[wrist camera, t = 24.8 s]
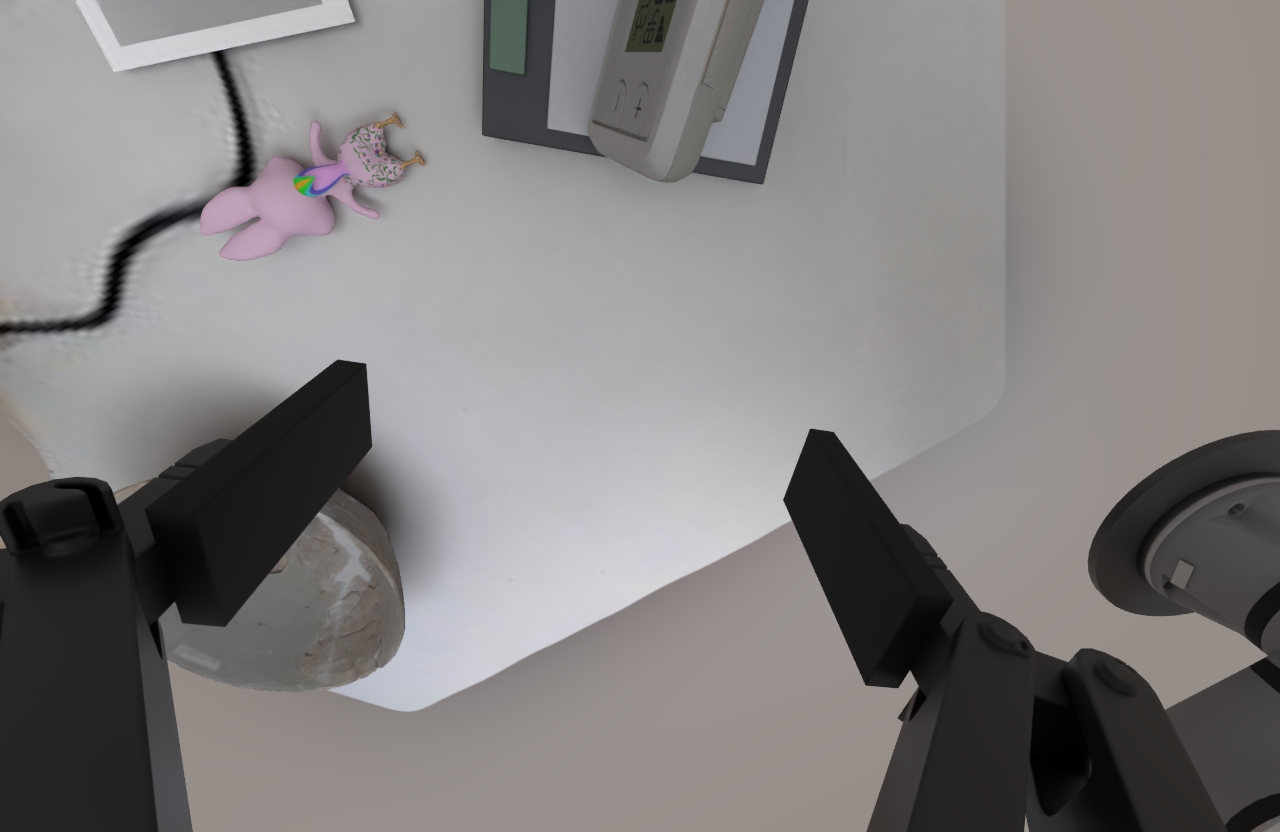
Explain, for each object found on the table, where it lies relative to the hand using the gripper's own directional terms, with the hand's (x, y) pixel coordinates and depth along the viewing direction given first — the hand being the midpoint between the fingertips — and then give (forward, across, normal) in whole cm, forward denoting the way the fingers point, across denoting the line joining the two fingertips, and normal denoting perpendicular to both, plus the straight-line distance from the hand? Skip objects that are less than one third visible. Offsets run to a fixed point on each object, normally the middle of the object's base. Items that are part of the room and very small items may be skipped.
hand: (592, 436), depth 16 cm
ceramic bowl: (+26, -23, -28) cm, 44 cm away
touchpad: (+26, -25, +12) cm, 38 cm away
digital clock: (+22, +1, +15) cm, 27 cm away
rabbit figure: (+26, -20, +1) cm, 32 cm away
